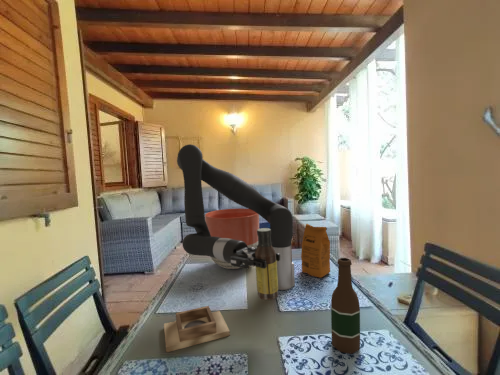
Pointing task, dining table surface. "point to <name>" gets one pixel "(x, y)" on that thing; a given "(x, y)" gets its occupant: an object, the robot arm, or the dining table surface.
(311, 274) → the coffee package
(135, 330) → the dining table surface
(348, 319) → the beer bottle
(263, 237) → the sauce bottle
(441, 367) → the dining table surface
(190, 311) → the socket board
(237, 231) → the planter
